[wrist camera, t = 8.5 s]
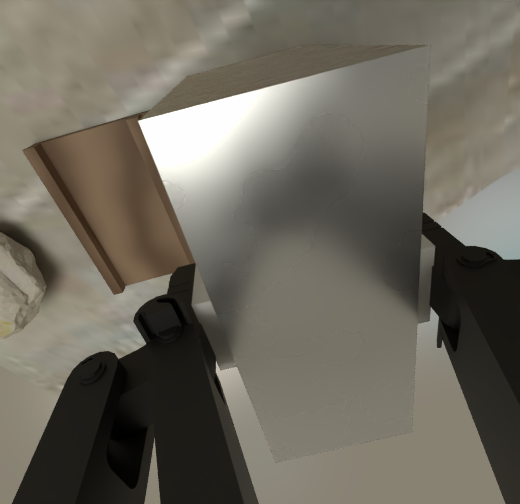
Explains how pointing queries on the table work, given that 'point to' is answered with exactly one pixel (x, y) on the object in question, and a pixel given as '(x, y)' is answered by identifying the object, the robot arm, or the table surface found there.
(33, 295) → the fossil replica
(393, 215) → the gray rectangular block
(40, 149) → the rack
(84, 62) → the table surface
